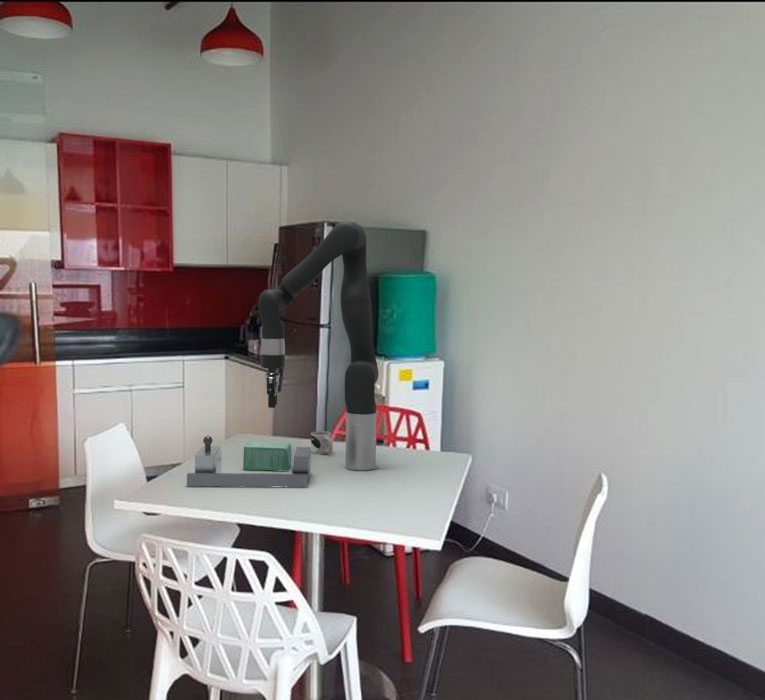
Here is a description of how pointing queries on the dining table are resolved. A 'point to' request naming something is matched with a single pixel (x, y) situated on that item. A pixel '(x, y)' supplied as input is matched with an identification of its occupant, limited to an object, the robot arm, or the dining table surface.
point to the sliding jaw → (208, 458)
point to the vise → (259, 475)
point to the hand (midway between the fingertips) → (272, 406)
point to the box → (267, 456)
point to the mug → (321, 442)
